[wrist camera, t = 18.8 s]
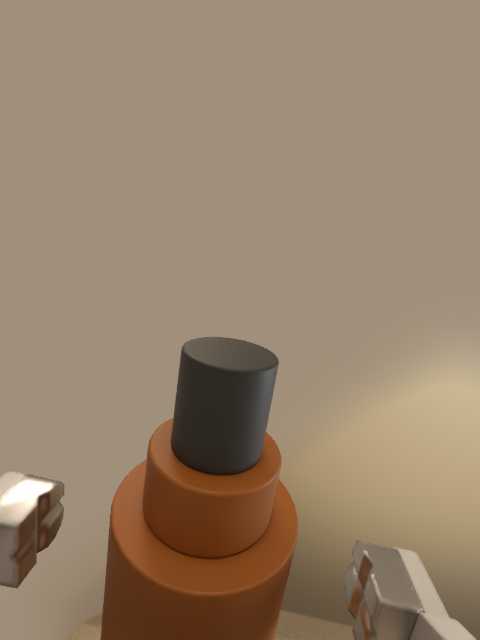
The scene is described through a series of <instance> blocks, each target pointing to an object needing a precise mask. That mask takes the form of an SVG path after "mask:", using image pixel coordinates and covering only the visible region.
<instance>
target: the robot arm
mask: <svg viewBox="0 0 480 640" xmlns="http://www.w3.org/2000/svg"><path fill="white" fill-rule="evenodd" d="M63 495H64V484H63V483H62V482H60V481H55V480H51V479H47V478H42V477H38V476H33V475H29V474H28V475H27V474H22V473H18V472H14V471H10V472H7V473H5V474H3V475H2V476H1V477H0V585H2V586H7V587H14V588H18V587H19V585H20V584H21V583H22V581H23V580H24V578H25V577H26V576H27V574H28V573H29V572H30V570H31V569H32V568H33V567H34V565H35V564H36V559H37V553H38V552H40V551H42V550H43V549H45V548H47V547H48V546H49V545H50V544H51V542H52V541H53V539H54V538H55V536H56V534H57V532H58V530H59V528H60V526H61V523H62V519H63V512H64V508H63V506H62V504H61V503H60V501H59V500H60V499H61V497H62V496H63ZM352 555H353V559H354V562H353V563H351V564H350V565H349V566H348V568H347V572H346V576H345V594H346V602H347V606H348V611H349V612H350V613H351V615H352V616H353V617H354V618H355V624H354V627H353V634H354V639H355V640H476V639H475V638H474V637H473V636H472V635H471V634H470V633H469V632H468V631H467V630H466V629H465V628H464V627H463V626H462V625H461V624H460V623H459V622H458V621H457V620H455V619H451V618H449V616H448V614H447V612H446V610H445V608H444V606H443V604H442V602H441V600H440V598H439V596H438V594H437V592H436V590H435V588H434V585H433V584H432V581H431V579H430V578H429V575H428V573H427V571H426V569H425V568H424V566H423V564H422V561H421V559H420V557H419V556H418V554H416V552H415V551H409V550H404V549H399V548H392V547H387V546H382V545H376V544H371V543H366V542H361V541H356V543H355V544H354V546H353V550H352Z"/></svg>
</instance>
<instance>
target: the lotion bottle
mask: <svg viewBox="0 0 480 640" xmlns="http://www.w3.org/2000/svg"><path fill="white" fill-rule="evenodd" d="M278 364H279V362H278V358H277V357H276V355H275V354H274V353H272V352H271V351H269V350H268V349H266V348H264V347H261V346H259V345H256V344H253V343H250V342H246V341H242V340H238V339H231V338H222V337H204V338H198V339H193V340H190V341H188V342H186V343H185V344H184V345H183V347H182V351H181V359H180V368H179V377H178V385H177V393H176V401H175V410H174V418H172V419H170V420H168V421H166V422H165V423H163V424H162V425H161V426H159V427H158V429H157V430H156V431H155V432H154V434H153V435H152V437H151V439H150V441H149V445H148V454H147V459H146V460H145V461H143V462H142V463H140V464H139V465H137V466H136V467H135V468H134V469H133V470H132V471H131V472H130V473H129V474H128V475H127V476H126V477H125V478H124V480H123V481H122V483H121V484H120V486H119V488H118V490H117V492H116V494H115V496H114V499H113V503H112V506H111V515H110V528H109V540H108V554H107V566H106V579H105V592H104V605H103V617H102V630H101V640H274V635H275V631H276V627H277V622H278V618H279V614H280V609H281V605H282V601H283V596H284V592H285V588H286V583H287V579H288V575H289V571H290V566H291V562H292V558H293V553H294V549H295V545H296V540H297V534H298V518H297V513H296V509H295V506H294V503H293V500H292V498H291V496H290V494H289V492H288V491H287V489H286V488H285V486H284V485H283V483H282V482H281V481H280V480H279V479H278V477H279V473H280V468H281V455H280V451H279V448H278V446H277V444H276V443H275V441H274V440H273V439H272V437H271V436H270V435H269V434H267V433H266V427H267V422H268V417H269V412H270V406H271V401H272V396H273V390H274V385H275V380H276V375H277V369H278Z"/></svg>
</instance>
